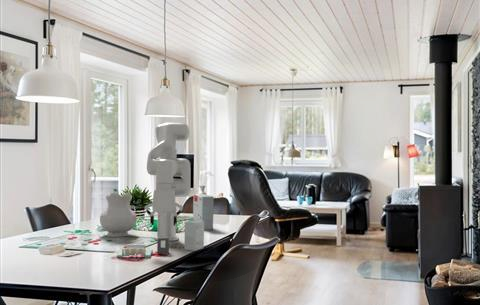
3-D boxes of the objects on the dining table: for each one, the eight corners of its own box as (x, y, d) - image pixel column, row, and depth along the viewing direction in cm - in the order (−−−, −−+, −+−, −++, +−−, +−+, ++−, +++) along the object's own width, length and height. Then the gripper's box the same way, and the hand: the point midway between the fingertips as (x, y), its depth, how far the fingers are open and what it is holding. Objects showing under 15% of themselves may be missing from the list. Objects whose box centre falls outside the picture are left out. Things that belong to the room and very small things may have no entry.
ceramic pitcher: (93, 235, 281) (91, 190, 280) (126, 230, 293) (124, 186, 291) (109, 241, 264) (106, 193, 262) (143, 235, 275) (141, 189, 274)
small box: (192, 246, 247) (193, 219, 247) (204, 248, 244) (204, 220, 244) (183, 249, 240) (184, 221, 240) (195, 250, 237) (196, 222, 237)
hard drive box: (192, 226, 314) (193, 194, 314) (204, 226, 317) (204, 194, 317) (201, 230, 300) (202, 196, 300) (213, 229, 303) (214, 196, 303)
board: (121, 251, 232) (121, 243, 232) (152, 251, 233) (152, 243, 233) (116, 258, 218) (116, 249, 218) (150, 257, 219) (150, 249, 219)
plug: (157, 252, 232) (158, 236, 232) (168, 252, 233) (169, 236, 233) (157, 254, 228) (157, 238, 228) (168, 254, 228) (168, 238, 228)
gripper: (183, 186, 235) (183, 224, 235) (145, 186, 233) (144, 224, 233) (183, 187, 228) (182, 226, 227) (144, 187, 226) (143, 226, 225)
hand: (163, 225), depth 230 cm, fingers open, 9 cm apart
